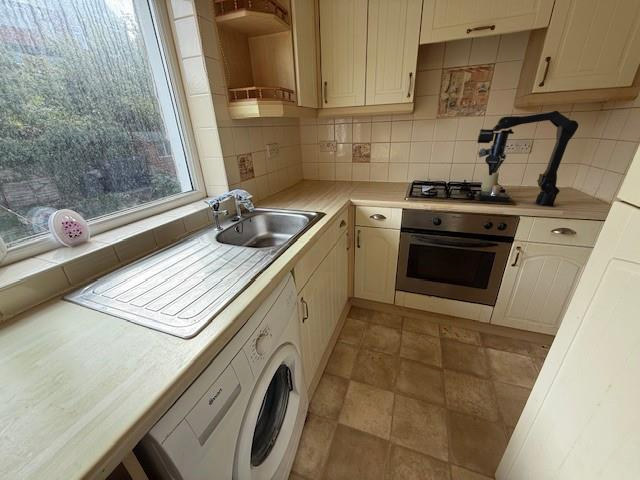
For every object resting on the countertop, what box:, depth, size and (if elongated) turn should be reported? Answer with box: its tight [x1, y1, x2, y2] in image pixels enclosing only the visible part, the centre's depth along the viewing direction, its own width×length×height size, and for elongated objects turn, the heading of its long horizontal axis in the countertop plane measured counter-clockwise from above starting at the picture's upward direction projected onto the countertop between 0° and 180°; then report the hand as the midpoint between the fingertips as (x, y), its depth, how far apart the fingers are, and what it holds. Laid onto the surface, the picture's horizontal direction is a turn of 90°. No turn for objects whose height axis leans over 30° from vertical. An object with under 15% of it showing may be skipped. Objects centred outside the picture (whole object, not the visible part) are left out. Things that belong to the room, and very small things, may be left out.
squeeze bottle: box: [480, 169, 500, 192], centre depth 155 cm, size 8×8×18 cm
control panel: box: [478, 190, 511, 204], centre depth 145 cm, size 13×10×3 cm
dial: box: [490, 184, 502, 195], centre depth 144 cm, size 4×4×5 cm
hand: (492, 174), depth 141 cm, fingers open, 9 cm apart
